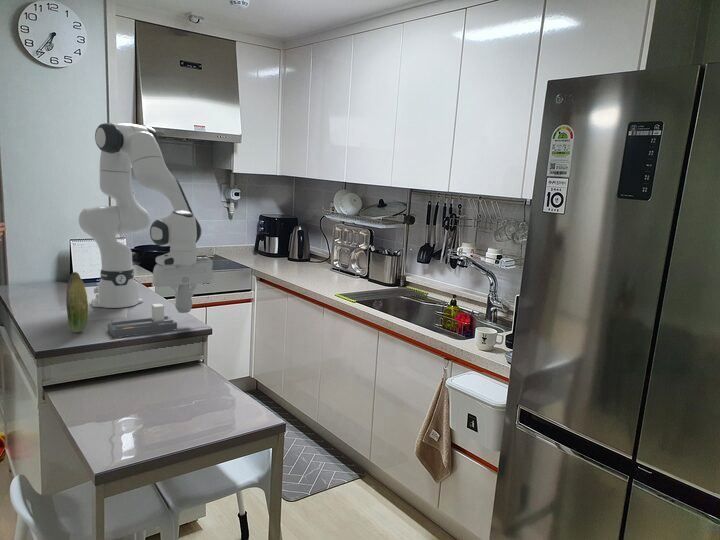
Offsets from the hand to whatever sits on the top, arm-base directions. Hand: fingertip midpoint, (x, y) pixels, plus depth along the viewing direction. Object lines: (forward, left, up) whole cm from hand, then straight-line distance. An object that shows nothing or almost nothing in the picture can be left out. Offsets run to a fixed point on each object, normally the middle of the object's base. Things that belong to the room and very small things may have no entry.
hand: (183, 297), depth 187 cm
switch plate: (0, -14, -10) cm, 17 cm away
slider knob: (0, -9, -7) cm, 12 cm away
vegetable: (-6, -32, -10) cm, 35 cm away
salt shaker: (0, 0, -5) cm, 5 cm away
